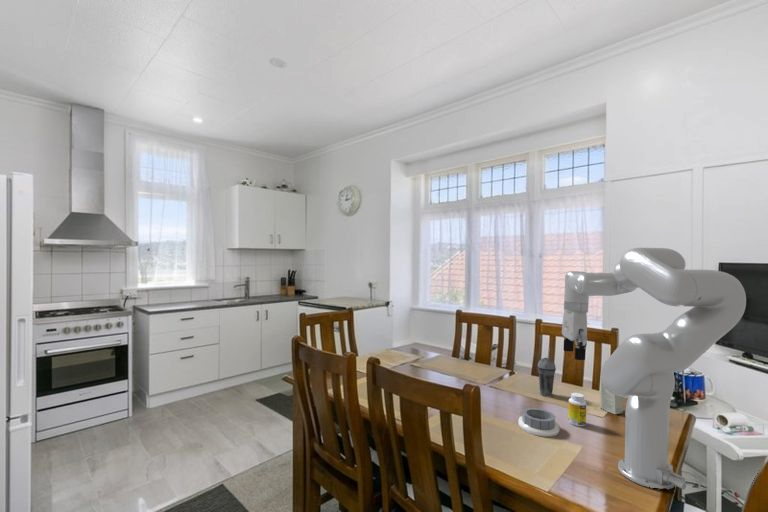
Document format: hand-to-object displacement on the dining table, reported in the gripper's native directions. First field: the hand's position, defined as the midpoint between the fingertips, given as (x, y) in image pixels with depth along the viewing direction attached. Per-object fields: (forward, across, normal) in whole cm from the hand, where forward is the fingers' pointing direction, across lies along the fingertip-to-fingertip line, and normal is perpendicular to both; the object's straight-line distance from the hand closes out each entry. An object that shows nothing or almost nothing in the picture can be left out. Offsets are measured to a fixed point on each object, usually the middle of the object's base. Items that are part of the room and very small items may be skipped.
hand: (573, 355), depth 127 cm
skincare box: (+25, -14, +20) cm, 35 cm away
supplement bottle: (+25, -1, +2) cm, 25 cm away
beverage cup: (+26, -27, 0) cm, 37 cm away
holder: (+24, +4, -12) cm, 28 cm away
